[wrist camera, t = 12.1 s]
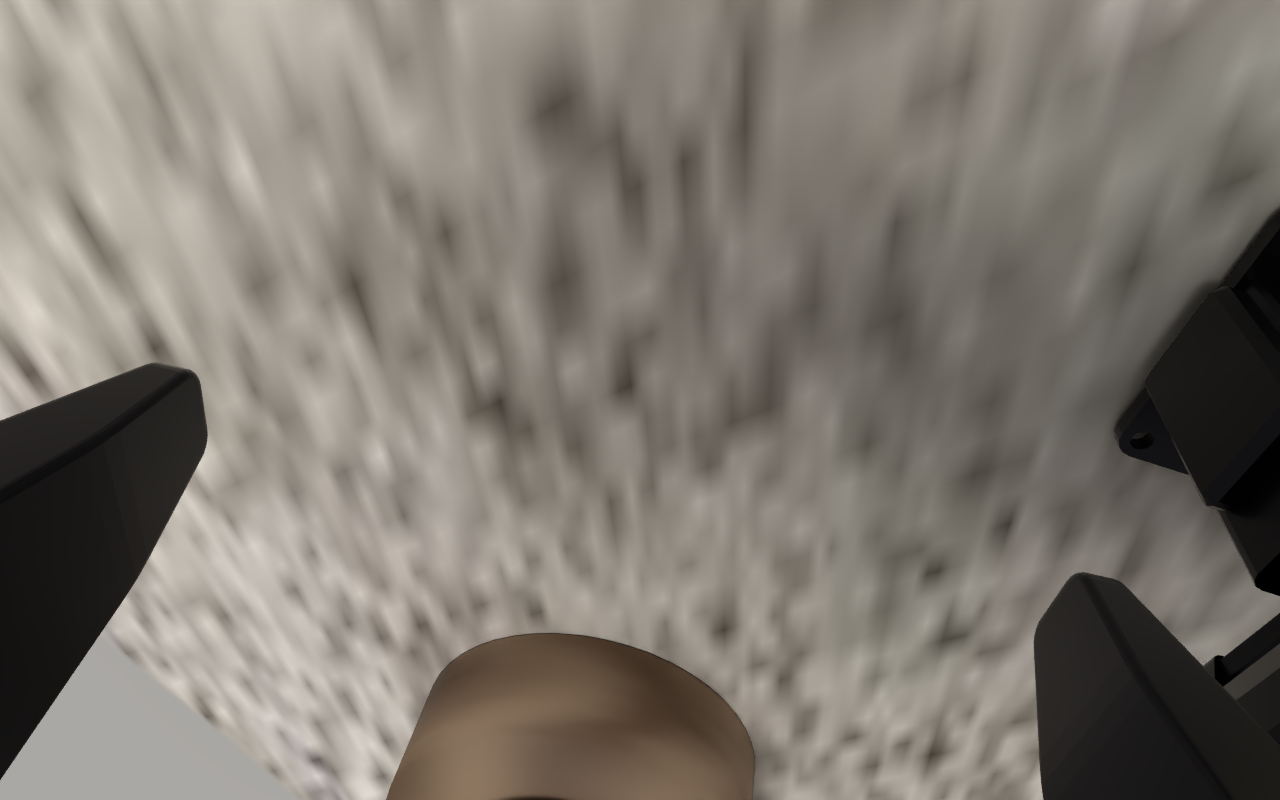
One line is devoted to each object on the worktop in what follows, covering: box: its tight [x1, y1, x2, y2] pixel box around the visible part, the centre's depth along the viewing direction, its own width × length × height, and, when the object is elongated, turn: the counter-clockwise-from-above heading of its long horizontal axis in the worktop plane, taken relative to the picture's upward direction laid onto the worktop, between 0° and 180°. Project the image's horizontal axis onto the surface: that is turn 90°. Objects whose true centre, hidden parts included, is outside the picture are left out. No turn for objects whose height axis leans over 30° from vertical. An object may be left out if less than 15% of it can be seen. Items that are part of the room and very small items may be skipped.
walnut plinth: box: [386, 634, 754, 800], centre depth 31 cm, size 12×12×4 cm
